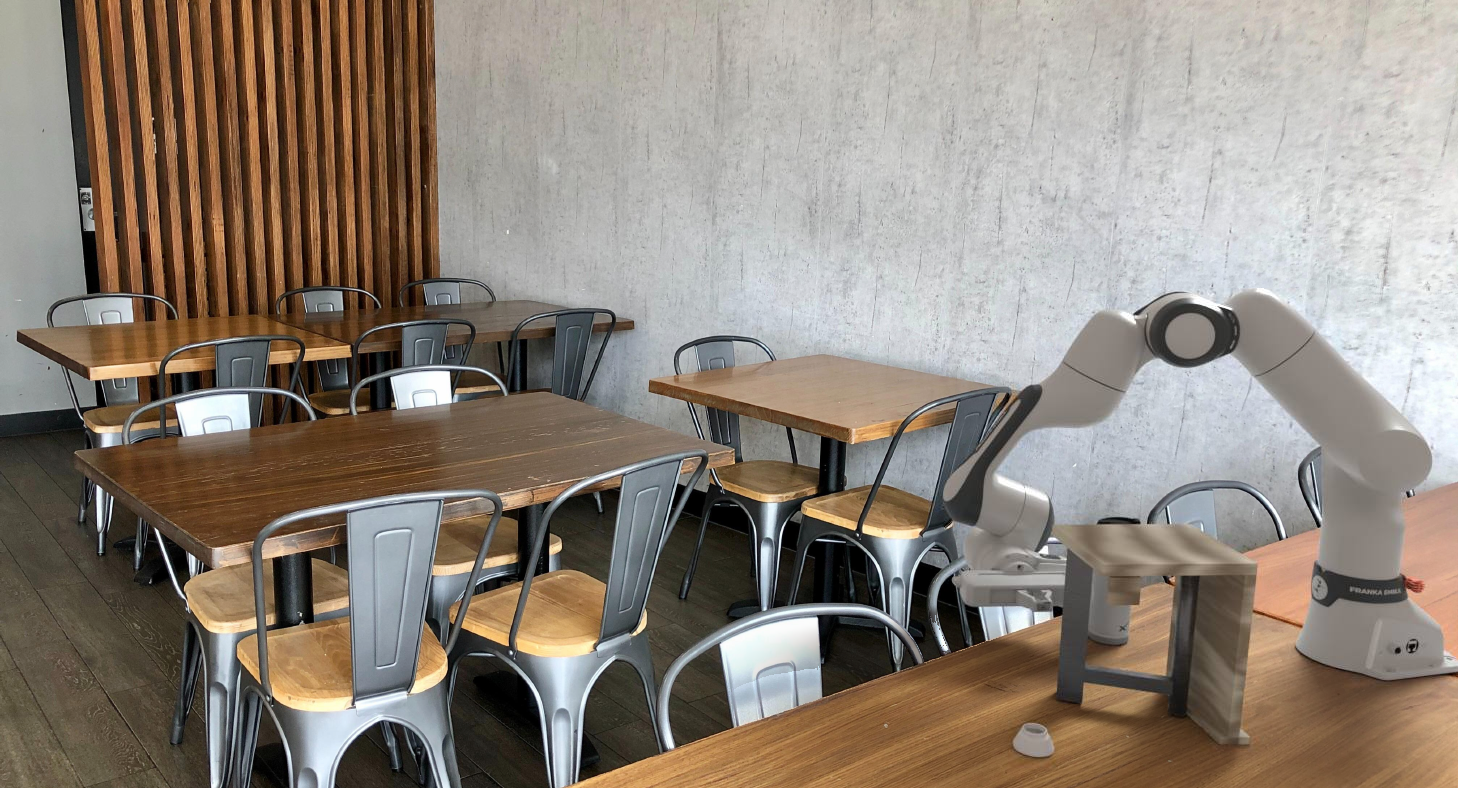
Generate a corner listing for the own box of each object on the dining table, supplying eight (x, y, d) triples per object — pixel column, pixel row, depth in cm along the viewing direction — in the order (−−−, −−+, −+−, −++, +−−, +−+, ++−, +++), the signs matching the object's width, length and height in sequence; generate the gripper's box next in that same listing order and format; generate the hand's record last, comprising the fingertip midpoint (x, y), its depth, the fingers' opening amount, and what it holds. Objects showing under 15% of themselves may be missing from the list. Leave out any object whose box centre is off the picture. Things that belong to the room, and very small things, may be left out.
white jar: (1004, 747, 137) (1036, 763, 133) (1006, 725, 137) (1038, 741, 133) (1029, 736, 140) (1061, 752, 136) (1031, 715, 139) (1063, 731, 136)
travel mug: (1133, 647, 169) (1144, 525, 166) (1089, 643, 170) (1099, 522, 167) (1127, 632, 175) (1137, 514, 172) (1085, 628, 176) (1094, 511, 173)
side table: (1184, 686, 155) (1200, 524, 151) (1249, 744, 139) (1269, 563, 134) (1040, 688, 154) (1052, 524, 150) (1089, 748, 137) (1104, 564, 133)
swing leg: (1185, 708, 148) (1200, 552, 144) (1187, 719, 145) (1203, 560, 141) (1056, 688, 153) (1068, 538, 149) (1055, 699, 150) (1067, 545, 146)
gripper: (949, 557, 171) (975, 587, 157) (1074, 556, 172) (1110, 586, 159) (947, 595, 172) (973, 628, 158) (1071, 593, 173) (1107, 626, 160)
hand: (1043, 607), depth 158 cm, fingers closed
